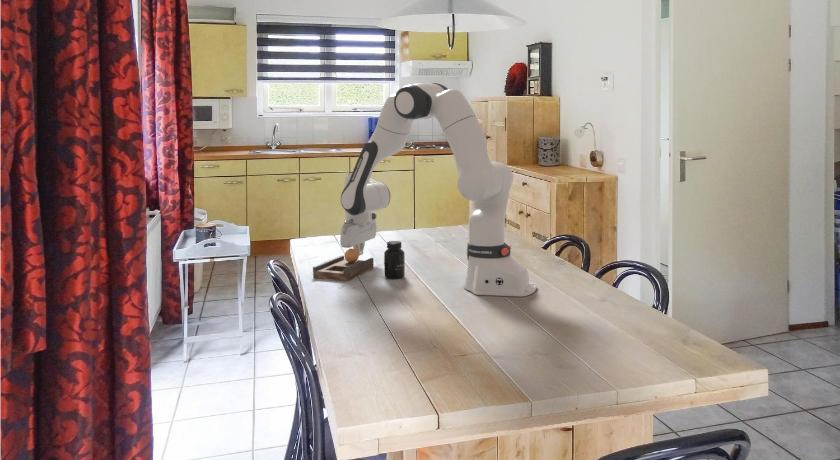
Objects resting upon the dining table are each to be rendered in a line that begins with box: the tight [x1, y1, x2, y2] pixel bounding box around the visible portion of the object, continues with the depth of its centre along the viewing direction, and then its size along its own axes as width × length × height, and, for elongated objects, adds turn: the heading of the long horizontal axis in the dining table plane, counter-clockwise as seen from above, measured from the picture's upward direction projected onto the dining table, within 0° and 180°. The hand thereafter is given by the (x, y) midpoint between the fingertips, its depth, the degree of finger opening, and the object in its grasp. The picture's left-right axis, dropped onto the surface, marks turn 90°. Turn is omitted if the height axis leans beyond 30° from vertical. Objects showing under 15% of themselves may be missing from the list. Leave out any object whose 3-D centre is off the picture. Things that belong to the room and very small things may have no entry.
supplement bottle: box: [383, 240, 406, 280], centre depth 225 cm, size 7×7×12 cm
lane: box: [312, 255, 375, 282], centre depth 232 cm, size 13×19×4 cm
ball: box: [344, 248, 360, 263], centre depth 236 cm, size 5×5×5 cm
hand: (359, 255), depth 241 cm, fingers closed
